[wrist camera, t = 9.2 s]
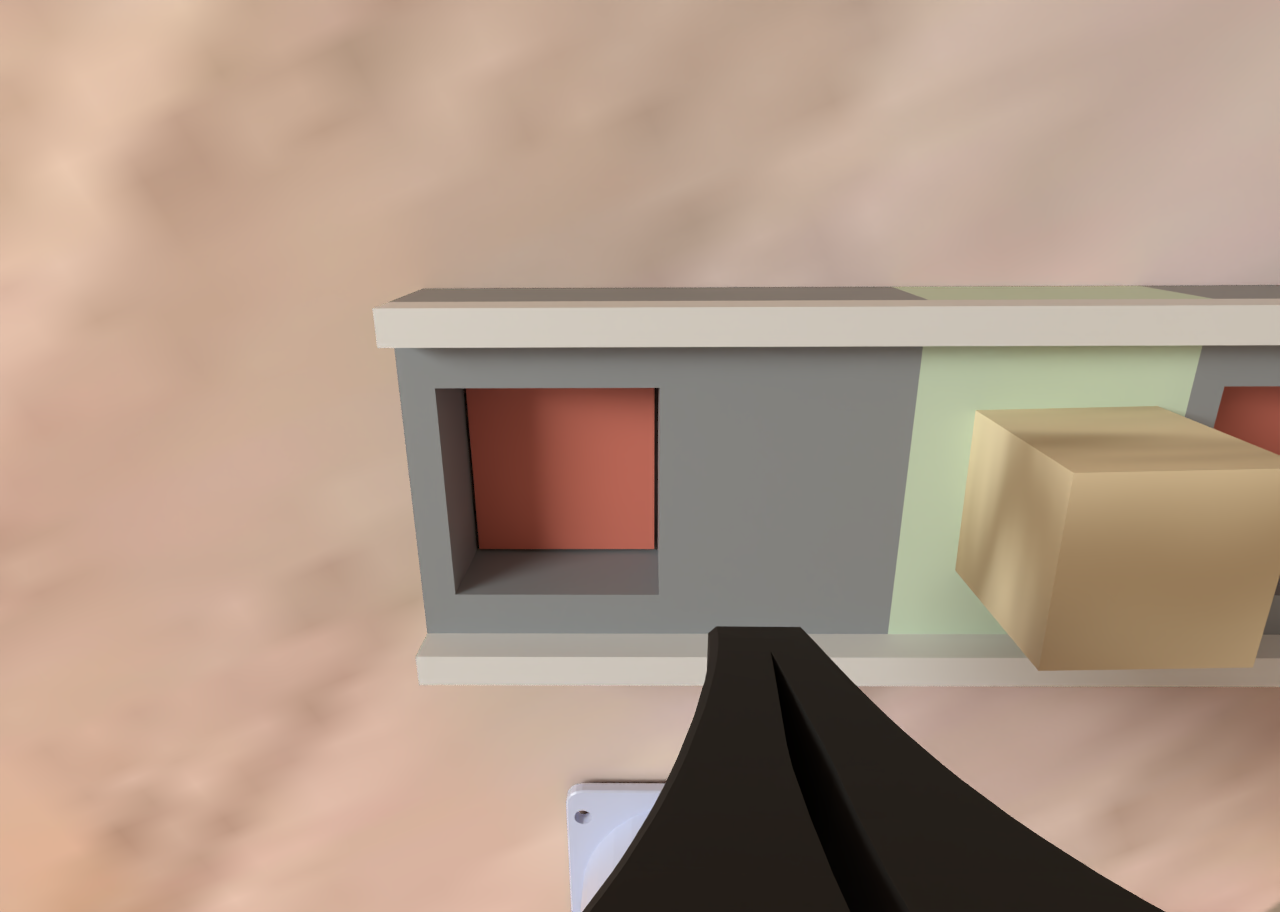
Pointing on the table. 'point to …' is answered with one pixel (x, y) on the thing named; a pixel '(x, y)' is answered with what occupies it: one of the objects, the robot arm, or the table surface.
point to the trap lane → (769, 465)
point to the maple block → (1121, 537)
